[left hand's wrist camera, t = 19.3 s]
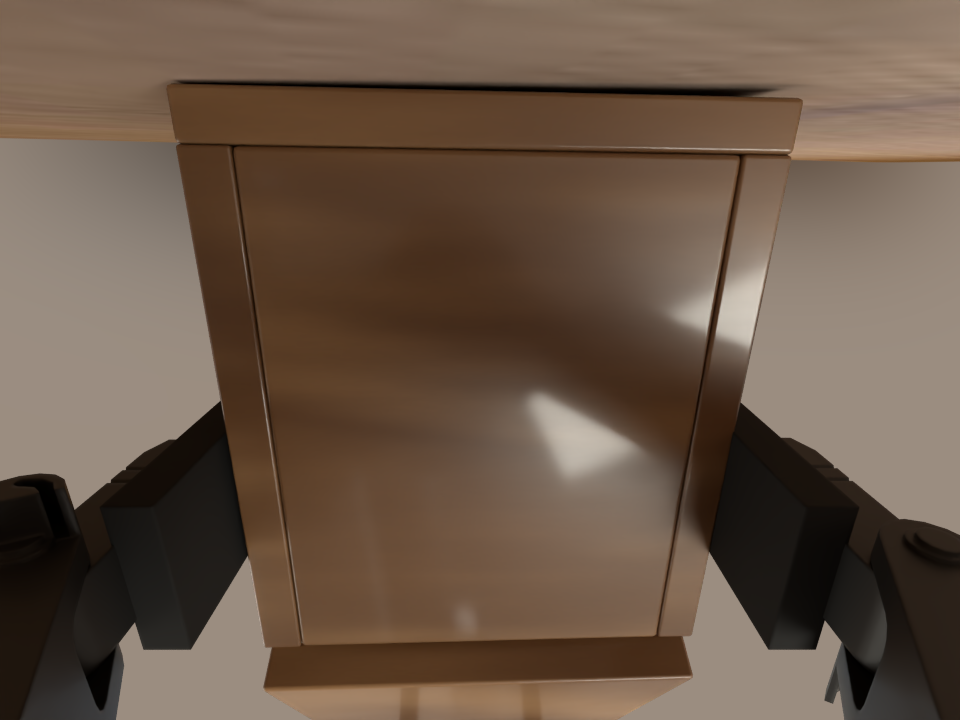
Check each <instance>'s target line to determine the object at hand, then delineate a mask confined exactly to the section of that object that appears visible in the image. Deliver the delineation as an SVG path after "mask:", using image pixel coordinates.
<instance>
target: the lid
mask: <svg viewBox="0 0 960 720" xmlns="http://www.w3.org/2000/svg"><path fill="white" fill-rule="evenodd" d="M692 676H693V674H692V670H691V666H690V663H689V659H688V655H687V651H686V648H685V644H684V640H683V637H682V636H676V637H659V636H658V635H657V634H656V635H655V636H651V637H613V638H575V639H537V640H498V641H460V642H422V643H383V644H345V645H307V646H306V645H303V643H302V644H301V646H299V647H272V649H271V654H270V659H269V663H268V668H267V673H266V677H265V682H264V691H265V692H267V693H269V694H270V695H272V696H273V697H275V698H277V699H278V700H280V701H282V702H283V703H285V704H287V705H288V706H290V707H292V708H293V709H295V710H297V711H298V712H300V713H302V714H303V715H305V716H307V717H308V718H310V719H312V720H617V719H619V718H621V717H623V716H624V715H626V714H628V713H630V712H631V711H633V710H635V709H637V708H639V707H641V706H642V705H644V704H646V703H648V702H650V701H652V700H653V699H655V698H657V697H659V696H661V695H662V694H664V693H666V692H668V691H670V690H671V689H673V688H675V687H677V686H679V685H681V684H682V683H684V682H686V681H688V680H690V679H691V678H692Z"/></svg>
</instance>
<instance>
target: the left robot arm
mask: <svg viewBox="0 0 960 720" xmlns="http://www.w3.org/2000/svg"><path fill="white" fill-rule="evenodd" d="M709 552H710V554H711V556H712V557H713V559H714V560H715V562H716V564H717V565H718V567H719V569H720V570H721V572H722V574H723V575H724V577H725V579H726V580H727V582H728V584H729V585H730V587H731V588H732V590H733V592H734V593H735V595H736V597H737V598H738V600H739V602H740V603H741V605H742V607H743V608H744V610H745V612H746V613H747V615H748V617H749V618H750V620H751V621H752V623H753V625H754V626H755V628H756V630H757V631H758V633H759V635H760V636H761V638H762V640H763V641H764V643H765V644H766V646H767V648H768V649H769V650H815V649H816V647H817V644H818V640H819V637H820V634H821V631H822V627H823V624H824V621H826V622H827V623H828V625H829V626H830V627H831V628H832V630H833V631H834V632H835V634H836V635H837V636H838V638H839V639H840V640H841V641H842V643H841V646H840V649H839V652H838V656H837V659H836V662H835V665H834V668H833V671H832V674H831V677H830V680H829V683H828V686H827V689H826V695H825V701H827V702H830V703H833V702H834V699H835V696H836V693H837V692H838V691H840V694H841V700H842V707H843V713H844V720H960V535H958V534H956V533H954V532H952V531H950V530H948V529H945V528H942V527H938V526H935V525H932V524H929V523H926V522H920V521H914V520H907V519H898V518H897V517H896V516H894V515H893V514H892V513H891V512H890V511H888V510H887V509H886V508H885V507H884V506H882V505H881V504H880V503H879V502H877V501H876V500H875V499H874V498H873V497H871V496H870V495H869V494H868V493H867V492H865V491H864V490H863V489H862V488H860V487H859V486H858V485H857V484H856V483H854V482H853V481H849V478H848V477H847V476H846V475H845V474H843V473H842V472H841V471H840V470H839V469H837V468H834V466H833V464H831V463H830V462H829V461H828V460H826V459H825V458H824V457H823V456H822V455H820V454H819V453H818V452H817V451H816V450H814V449H811V448H810V447H808V446H806V445H804V444H802V443H800V442H798V441H796V440H794V439H792V438H780V437H779V436H778V435H777V434H776V433H775V432H774V431H773V430H771V429H770V428H769V427H768V426H767V425H766V424H765V423H763V422H762V421H761V420H760V419H759V418H758V417H757V416H755V415H754V414H753V413H752V412H751V411H750V410H749V409H747V408H746V407H745V406H744V405H743V404H742V403H741V402H740V407H739V412H738V416H737V421H736V426H735V431H734V432H733V435H732V440H731V445H730V450H729V455H728V460H727V465H726V471H725V476H724V481H723V486H722V491H721V496H720V501H719V506H718V511H717V516H716V521H715V526H714V531H713V536H712V540H711V545H710V550H709ZM247 556H248V553H247V547H246V541H245V536H244V530H243V524H242V518H241V513H240V507H239V501H238V496H237V490H236V484H235V479H234V473H233V467H232V462H231V456H230V450H229V445H228V439H227V433H226V428H225V422H224V416H223V411H222V405H221V401H220V402H219V403H218V404H216V405H215V406H214V407H213V408H212V409H211V410H210V411H208V412H207V413H206V414H205V415H204V416H203V417H202V418H200V419H199V420H198V421H197V422H196V423H195V424H194V425H192V426H191V427H190V428H189V429H188V430H187V431H186V432H184V433H183V434H182V435H181V436H180V437H179V438H178V439H176V440H168V441H166V442H164V443H162V444H160V445H158V446H156V447H154V448H152V449H150V450H148V451H146V452H144V453H143V454H142V455H140V456H139V457H138V458H137V459H136V460H134V461H133V462H132V463H131V464H129V465H128V466H127V467H126V470H122V471H121V472H120V473H119V474H117V475H116V476H115V477H114V478H113V479H111V483H107V484H105V485H104V486H103V487H102V488H101V489H99V490H98V491H97V492H96V493H95V494H93V495H92V496H91V497H90V498H89V499H87V500H86V501H85V502H84V503H83V504H81V505H80V506H79V507H78V508H77V509H75V510H74V507H73V504H72V501H71V498H70V495H69V492H68V489H67V486H66V483H65V480H64V479H63V478H61V477H59V476H57V475H54V474H32V475H25V476H18V477H14V478H11V479H7V480H3V481H0V720H116V715H117V708H118V702H119V695H120V689H121V682H122V676H123V669H124V663H123V656H122V653H121V649H120V646H119V642H120V641H121V640H122V638H123V637H124V636H125V634H126V633H127V632H128V630H129V629H130V628H131V626H132V625H133V624H134V623H135V624H136V627H137V630H138V633H139V636H140V640H141V643H142V646H143V649H144V650H190V649H191V648H192V647H193V645H194V643H195V642H196V640H197V638H198V637H199V635H200V634H201V632H202V630H203V629H204V627H205V625H206V624H207V622H208V620H209V619H210V617H211V615H212V614H213V612H214V610H215V609H216V607H217V605H218V604H219V602H220V600H221V599H222V597H223V596H224V594H225V592H226V591H227V589H228V587H229V586H230V584H231V582H232V581H233V579H234V577H235V576H236V574H237V572H238V571H239V569H240V568H241V566H242V564H243V563H244V561H245V559H246V558H247Z"/></svg>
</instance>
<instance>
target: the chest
mask: <svg viewBox="0 0 960 720" xmlns="http://www.w3.org/2000/svg"><path fill="white" fill-rule="evenodd" d="M167 94H168V100H169V105H170V111H171V117H172V123H173V128H174V134H175V139H176V141H177V142H178V143H180V144H179V145H177V146H176V149H177V155H178V161H179V167H180V172H181V178H182V184H183V189H184V195H185V201H186V206H187V212H188V217H189V223H190V229H191V235H192V240H193V246H194V251H195V257H196V263H197V269H198V274H199V280H200V286H201V291H202V297H203V303H204V308H205V314H206V320H207V326H208V331H209V337H210V343H211V348H212V354H213V359H214V365H215V371H216V377H217V382H218V388H219V394H220V399H221V405H222V411H223V416H224V422H225V428H226V433H227V439H228V445H229V450H230V456H231V462H232V467H233V473H234V479H235V484H236V490H237V496H238V501H239V507H240V513H241V518H242V524H243V530H244V536H245V541H246V547H247V553H248V558H249V564H250V570H251V575H252V581H253V587H254V592H255V598H256V604H257V609H258V615H259V621H260V626H261V632H262V638H263V643H264V647H266V648H268V647H299V646H301V644H302V643H303V645H306V646H307V645H345V644H383V643H422V642H460V641H498V640H537V639H575V638H613V637H651V636H655V635H656V634H657V635H658V636H659V637H676V636H691V635H692V631H693V626H694V622H695V617H696V612H697V607H698V603H699V598H700V593H701V588H702V583H703V579H704V574H705V569H706V564H707V560H708V555H709V550H710V545H711V540H712V536H713V531H714V526H715V521H716V516H717V511H718V506H719V501H720V496H721V491H722V486H723V481H724V476H725V471H726V465H727V460H728V455H729V450H730V445H731V440H732V435H733V432H734V431H735V426H736V421H737V416H738V412H739V407H740V402H741V397H742V393H743V388H744V383H745V378H746V373H747V369H748V364H749V359H750V354H751V350H752V345H753V340H754V335H755V330H756V326H757V321H758V316H759V311H760V306H761V302H762V297H763V292H764V288H765V283H766V278H767V273H768V268H769V264H770V259H771V254H772V249H773V244H774V239H775V235H776V230H777V225H778V221H779V216H780V211H781V206H782V201H783V197H784V192H785V187H786V182H787V178H788V173H789V168H790V163H791V157H790V156H788V154H790V153H791V152H792V151H793V148H794V143H795V138H796V133H797V129H798V124H799V119H800V114H801V109H802V105H803V101H802V100H801V99H799V98H774V97H731V96H688V95H645V94H602V93H559V92H516V91H473V90H430V89H387V88H343V87H300V86H257V85H214V84H169V85H167Z"/></svg>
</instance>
